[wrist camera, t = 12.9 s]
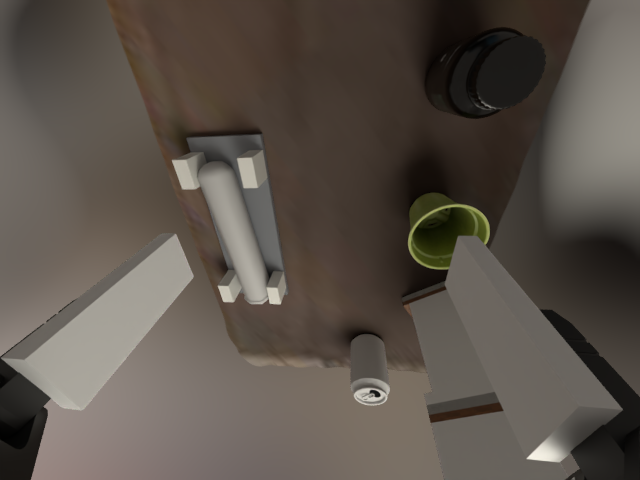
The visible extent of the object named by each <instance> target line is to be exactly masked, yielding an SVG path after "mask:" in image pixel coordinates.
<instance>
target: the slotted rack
mask: <svg viewBox="0 0 640 480" xmlns="http://www.w3.org/2000/svg"><path fill="white" fill-rule="evenodd" d="M186 139H187V142H188V145H189V148H190V152H191V153H188V154H186V155H183V156H181V157H179V158H176V159H174V160H172V162H173V165H174V167H175V170H176V173H177V176H178V178H179V181H180V184H181V187H182V189H197V188H198V187H200V184H199V182H198V179H197V177H198V173H199V170H200V169H201V168H202V166H203V165H205V164H207V163H209V162H212V161H223V162H224V163H226V164H228V165H229V166H230V167H231V168H232V169H234V171H235V174H236V177H237V180H238V183H239V187H240V190H241V193H242V196H243V199H244V202H245V205H246V208H247V211H248V214H249V217H250V220H251V224H252V227H253V230H254V233H255V236H256V239H257V242H258V245H259V248H260V251H261V254H262V257H263V260H264V264H265V267H266V270H267V273H268V276H269V279H270V280H269V282H268V285H267V287H266V288H267V293H268V297H269V301H270V304H281V302H282V299H283V296H284V295H288V292H289V290H288V284H287V278H286V272H285V266H284V260H283V254H282V248H281V242H280V236H279V230H278V224H277V218H276V212H275V206H274V200H273V194H272V188H271V182H270V176H269V170H268V164H267V158H266V152H265V146H264V140H263V134H241V135H218V136H196V137H188V138H186ZM207 205H208V204H207ZM208 208H209V206H208ZM209 211H210V209H209ZM210 214H211V217H212V220H213V223H214V226H215V230H216V233H217V236H218V239H219V242H220V245H221V248H222V251H223V255H224V258H225V261H226V264H227V267H228V271H227V273H226V274H225V276H224V277H223V279H222V280H221V282H220V283H219V285H218V288H219V291H220V293H221V296H222V299H223V302H234V301H235V299H236V297H237V295H238V294H239V293H244V292H243V290H242V287H241V285H240V282H239V280H238V277H237V275H236V272H235V270H234V267H233V265H232V263H231V260H230V258H229V255H228V253H227V250H226V248H225V245H224V243H223V240H222V238H221V236H220V233H219V231H218V228H217V226H216V223H215V221H214V218H213V216H212V213H211V211H210Z"/></svg>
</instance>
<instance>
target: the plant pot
mask: <svg viewBox="0 0 640 480" xmlns="http://www.w3.org/2000/svg"><path fill="white" fill-rule="evenodd" d="M445 208H448V210H447V211H445ZM409 217H410V225H411V231H410V233H409V236H408V248H409V251H410V253H411V255H412V257H413V258H414V259H415V260H416V261H417V262H418V263H420V264H421V265H423V266H426V267H428V268H432V269H449V267H450V263H451V260H452V256H453V252H454V249H455V245H456V242H457V238H458V236H478V237H479V239H480V240H481V241H482V242H483V243H484V245H486V243H487V241H488V239H489V235H490V228H489V223H488V221H487V219H486V217H485V216H484V214H483V213H481V212H480V211H479V210H478V209H476V208H474V207H472V206H469V205H465V204H458V203H456V202H454V201H453V200H451V199H449V198H448V197H446V196H445V195H443V194H440V193H427V194H424V195H422V196H420V197H419V198H417V199H416V200H415V202H414V203H413V205H412V206H411V208H410V211H409ZM436 222H437V223H436ZM433 223H436V224H435V225H432V226H428V224H433Z"/></svg>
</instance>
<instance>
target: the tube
mask: <svg viewBox="0 0 640 480" xmlns="http://www.w3.org/2000/svg"><path fill="white" fill-rule="evenodd" d="M197 179H198V182H199V184H200V186H201V189H202V191H203V194H204V196H205V199H206V201H207V204H208V206H209V209H210V211H211V213H212V216H213V218H214V221H215V223H216V226H217V228H218V231H219V233H220V236H221V238H222V240H223V243H224V245H225V248H226V250H227V253H228V255H229V258H230V260H231V263H232V265H233V267H234V270H235V272H236V275H237V277H238V280H239V282H240V285H241V287H242V290H243V292H244V294H245V297H244V298H245V300H246V301H248V302H249V303H250V304H263V303H264V302H265V301H267V300H268V299H269V297H268V293H267V288H266V287H267V285H268V282H269V280H270V279H269V276H268V273H267V270H266V267H265V264H264V260H263V257H262V254H261V251H260V248H259V245H258V242H257V239H256V236H255V233H254V230H253V227H252V224H251V220H250V217H249V214H248V211H247V208H246V205H245V202H244V199H243V196H242V193H241V190H240V187H239V183H238V180H237V177H236V174H235V171H234V169H232V168H231V167H230V166H229V165H228V164H226V163H224V162H223V161H212V162H209V163H207V164H205V165H203V166H202V168H201V169H200V170H199V173H198V177H197Z"/></svg>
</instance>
